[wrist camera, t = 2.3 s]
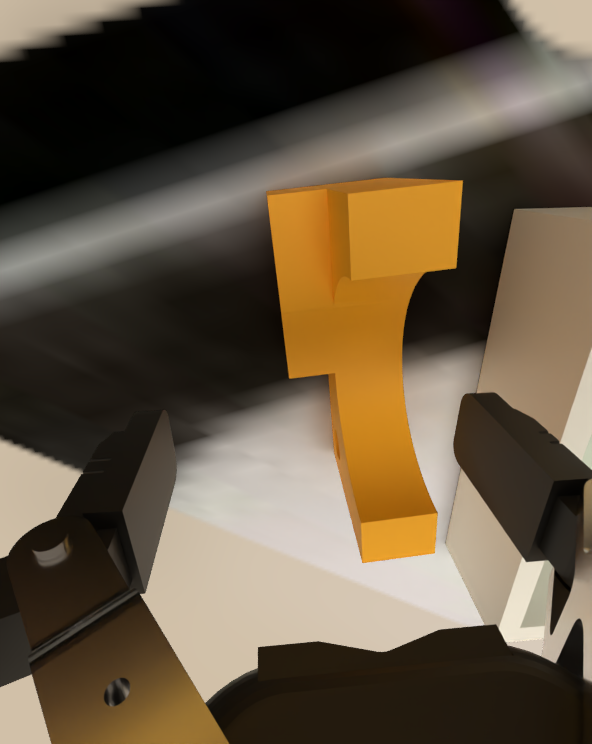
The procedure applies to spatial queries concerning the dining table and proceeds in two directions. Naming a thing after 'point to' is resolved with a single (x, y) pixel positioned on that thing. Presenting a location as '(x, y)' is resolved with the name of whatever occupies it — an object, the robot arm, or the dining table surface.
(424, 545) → the pipe clamp
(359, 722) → the robot arm
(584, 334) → the walled box
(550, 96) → the dining table surface
